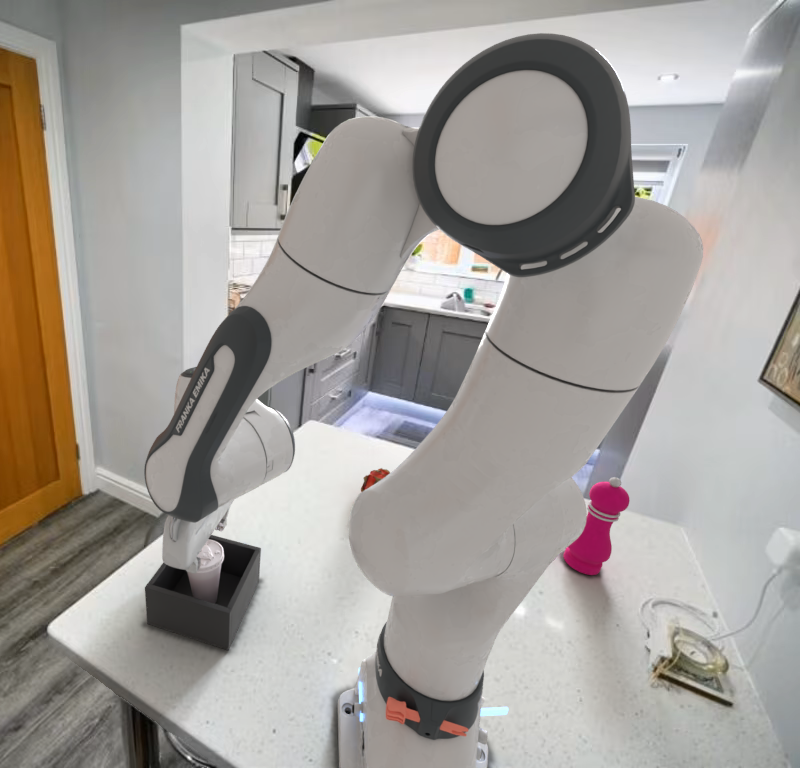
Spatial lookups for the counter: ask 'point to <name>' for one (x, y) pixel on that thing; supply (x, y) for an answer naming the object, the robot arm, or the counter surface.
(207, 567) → the smoothie
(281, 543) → the counter surface
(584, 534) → the pepper mill
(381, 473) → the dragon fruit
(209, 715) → the counter surface
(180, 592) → the basket
